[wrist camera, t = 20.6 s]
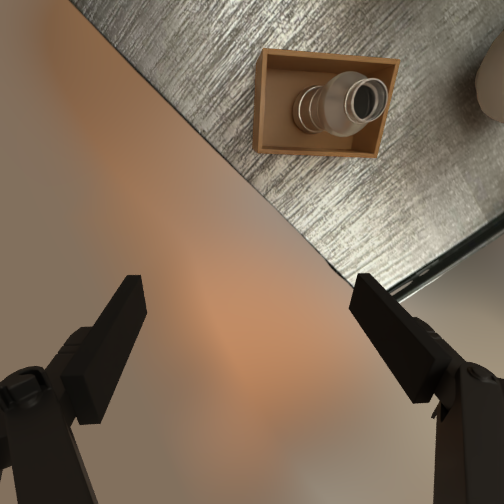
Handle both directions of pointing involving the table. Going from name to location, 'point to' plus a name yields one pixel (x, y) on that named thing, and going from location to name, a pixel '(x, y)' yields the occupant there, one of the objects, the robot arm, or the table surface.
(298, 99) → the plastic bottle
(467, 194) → the table surface
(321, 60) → the open box
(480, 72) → the vase
